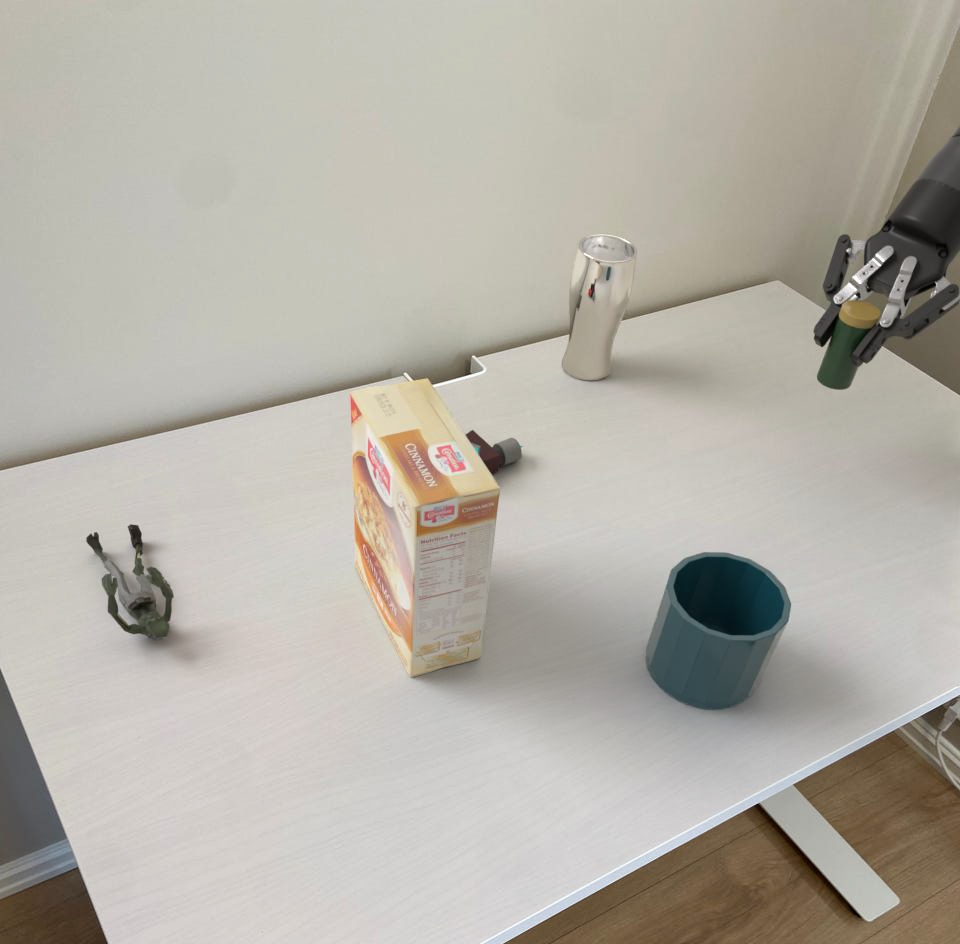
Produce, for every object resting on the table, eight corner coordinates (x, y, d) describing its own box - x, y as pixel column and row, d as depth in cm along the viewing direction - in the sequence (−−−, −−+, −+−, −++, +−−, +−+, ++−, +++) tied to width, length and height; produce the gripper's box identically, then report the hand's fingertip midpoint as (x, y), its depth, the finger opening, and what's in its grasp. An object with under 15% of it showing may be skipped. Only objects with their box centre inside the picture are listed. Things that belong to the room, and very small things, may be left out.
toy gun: (531, 463, 104) (536, 426, 100) (438, 500, 98) (441, 462, 95) (479, 416, 109) (482, 379, 105) (388, 449, 103) (388, 411, 100)
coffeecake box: (352, 565, 91) (346, 389, 77) (422, 548, 93) (430, 374, 79) (407, 680, 82) (413, 506, 68) (483, 659, 85) (504, 486, 70)
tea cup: (765, 641, 89) (797, 572, 82) (749, 724, 82) (782, 655, 75) (658, 609, 90) (680, 539, 84) (634, 688, 84) (656, 618, 77)
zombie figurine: (131, 484, 86) (179, 597, 78) (143, 540, 91) (189, 652, 83) (69, 498, 84) (111, 615, 76) (84, 555, 89) (126, 670, 81)
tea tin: (853, 375, 101) (882, 305, 96) (850, 394, 99) (879, 323, 93) (817, 366, 102) (843, 296, 96) (813, 385, 100) (840, 314, 94)
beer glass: (624, 364, 118) (649, 246, 107) (598, 390, 114) (621, 269, 103) (574, 344, 120) (594, 226, 109) (547, 368, 116) (565, 248, 105)
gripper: (880, 153, 94) (770, 306, 97) (1016, 208, 87) (894, 370, 90) (888, 195, 100) (785, 337, 103) (1015, 249, 94) (901, 399, 97)
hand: (836, 351), depth 97 cm, fingers closed on tea tin, 3 cm apart
